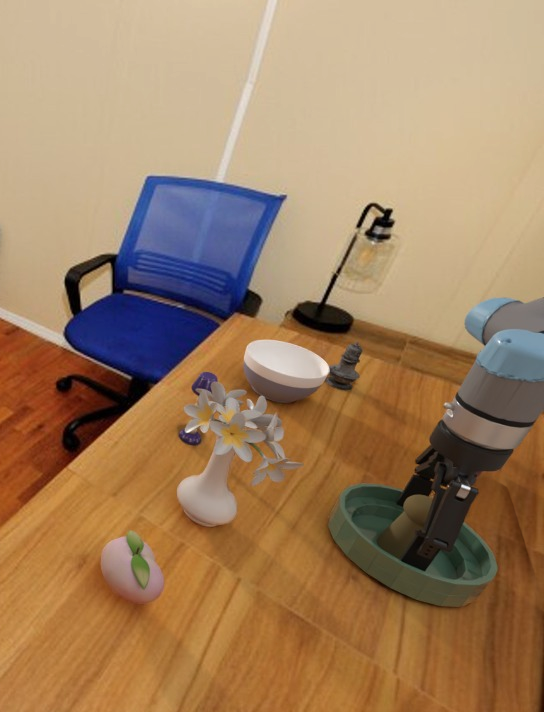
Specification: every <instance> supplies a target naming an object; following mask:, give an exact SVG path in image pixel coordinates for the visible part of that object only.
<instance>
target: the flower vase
mask: <svg viewBox="0 0 544 712" xmlns="http://www.w3.org/2000/svg"><path fill="white" fill-rule="evenodd" d="M211 390H212V393H211V392H209V391H207V390H205V389H196V391H197V392H198V393H200V395H199V396H198V397H199V405H200V407H201V408H200V407H198V406H196V405H195V404H192V403H188V404H185V405H184V407H183V411H184V413H185V414H186V415H187V416H189V417H190V418H191V417H193V418H196V419H193V420H191V419H190V420H191V421H190V420H189V421H188V422H187V424H186V426H185V428H184V429H185V432H186V433H189V432H192V431H193V430H195V429H197V430H198V428H199V429H200V431H201V432H202V433H203V434H206V433H207V432H208V431H209V430H211V432H213V433H214V434H215V443H214V447H213V451H212V453H211V455H210V458H209V460H208V462H207V465H206V467H205V468H204V470H203V471H202V472H201V473H200V474H193V475H189V476H187V477H185V478H183V480H182V481H180V483H179V484H178V485H177V488H176V497H177V500H178V503H179V505H180V506H181V508H182V510H183V512H184V514H185V515H186V517H188V519H190V520H191V521H193V523H196V524H197V525H199V526H203V527H206V528H214V527H217V526H222V525H227V524H229V523H231V522H232V521H234V519H235V518H236V517H237V513H238V503H237V500H236V497H235V495H234V493H233V491H232V490H231V489H230V488H229V486H228V478H229V473H230V469H231V467H232V464H233V460H234V458H235V455H237V457H238V458H240V459H241V460H242V461H243V462H245V463H250V462H252V461H253V452H252V449H251V448H250V446H251V447H253V448H254V449H255V450H256V451H257V453H258V454H259V456H260V457H261V458H262V461H261V462H260V463H259V466H258V467H257V468H256V469H255V470H254V471H253V472H252V475H255V476H254V477H253V479H252V480H251V482H250V486H252V487H254V486H256V485H257V486H258V484H261V483H262V482H263V481H264V480H266V477H267V476H268V477H269V479H270V480H271V481H273V482H275V483H281V482H283V481H284V480H285V478H286V473H285V472H284V471H283V469H284V470H296V469H300V468H302V467H303V466H304V465H305V464H304V463H302V462H296V461H290V460H291V458H289V457H286V455H285V454H286V453H285V451H284V449H283V446H281V444H279V443H278V442H280V441H282V440H283V438H284V435H285V430H284V427H282V425H283V421H282V419H280V418H279V417H278V412H277V411H276V412H274V414H271V413H266V411H267V407H268V403H267V399H266V398H265V397H264V396H260V395H259V397H258V398H257V401H256V403H255V404H254V402H253V401H252V400H251V399H250V398H247V399H246V405H247V409H244V410H241V407H240V406H241V405H245V402H244V401H242V400H241V399H239V398H241V397H243V396H245V395H246V394H247V393H248V392H247V390H246V389H234V390H230V391H228V392H226V388H225V386H224V385H223V384H222V383H221V382H219V381H218V382H212V383H211ZM212 394H213V395H212ZM240 410H241V411H240ZM216 412H217V413H218V414H219V415H218V419H217V418H215V417H214V416H215V414H216ZM265 413H266V414H265ZM245 428H248V429H245ZM260 442H264V444H265V445H266V446H267V447H268V448H269V449H270V451H271V452H272V454H273V455H274V456H275V458H274V457H273V458H272V457H267V455H265V453H264V452H263V451H262V450H261V448H259V447H258V446H257V445H256V443H258V444H259V443H260Z"/></svg>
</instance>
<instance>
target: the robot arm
mask: <svg viewBox="0 0 544 712" xmlns="http://www.w3.org/2000/svg"><path fill="white" fill-rule="evenodd" d="M464 329H465V330H466V331H467V333H468V334H469V335H470V336H472V337H473V338H474V339H475V340H476V341H478V342H479V343H480V344H482V345H483V346H484V347H483V348H482V349H481V350H480V351H479V352H478V353H477V355H476V357H475V361H474V362H473V364H472V366H471V368H470V369H469V371H468V373H467V374H466V376H465V378H464V379H463V381H462V383H461V385H460V387H459V389H458V390H457V391H456V393H455V395H454V397H453V399H452V400H451V401H452V402H448V401H446V402H444V403H443V405H442V407H443V408H444V409H445V412H444V413H443V415H442V419H439V421H438V422H437V424H436V425H435V427H434V429H433V430H432V432H431V433H430V435H429V437H428V440H429V444H430V445H429V446H427V448H425V449H424V450H423V451H422V452H421V453H420V454H419V455H418V456H417V457H416V458H415V459H414V463H415V465H416V466H415V467H414V469H413V473H415V474H412V476H411V477H410V479H409V480H408V482H407V484H406V485H405V487H404V488H403V489H402V490H403V492H402V493H401V495H400V497H399V498H398V500H397V501H396V505H399V506H402V507H403V506H404V502H405V500H406V499H407V498H408V497H410V496H412V495H425V496H428V497H430V495H431V494H432V492H433V493H434V494H433V496H432V498H433V500H432V503H431V506H430V510H429V513H428V516H427V519H426V522H425V525H424V529H423V531H422V530H420V529H419V531H417V530H415V534H416V535H415V537H414V538H413V540H412V541H411V543H410V544H409V546H408V547H407V549H406V550H405V552H404V553H403V555H402V556H401V558H400V561H402V562H404V563H406V564H408V565H411V566H413V567H415V568H418V569H420V570H422V571H424V572H425V571H426V569H427V568H428V567H429V565H430V564H431V562H432V561H433V560H434V558H435V557H436V555H437V554H438V553H439V551H440V550H441V549H442V550H445V551H447V552H451V550H452V549H453V546H454V544H455V541H456V539H457V536H458V534H459V532H460V529H461V527H462V525H463V522H465V520H466V518H467V515H468V513H469V511H470V508H471V506H472V504H473V503H474V501H475V499H476V497H477V496H478V495H479V492H480V490H479V488H477V487H475V486H474V485H475V484H476V481H477V479H478V478H477V474H475V472H482V471H483V472H487V473H488V472H489V473H491V472H498V471H500V470H501V469H502V468H503V467H504V466H505V464H506V463H507V461H508V460H509V458H511V456H512V454H513V453H514V452H515V449H516V448H517V447H519V446H520V445H521V444H522V442H523V441H524V439H525V438H526V437H527V435H528V434H529V432H530V431H531V429H532V428H533V427H534V425H535V423H536V422H537V420H538V419H539V417H540V416H541V415H542V413H543V412H544V296H543V297H539V298H536V299H534V300H531V301H528V302H523V301H521V300H518V299H515V298H511V297H491V298H488V299H485V300H483V301H480V302H479V303H477V304H475V305H474V306H472V307H471V309H470V310H469V311H468V313H467V314H466V315H465V318H464ZM483 472H482V473H483ZM441 486H442V487H441ZM443 487H444V488H443Z"/></svg>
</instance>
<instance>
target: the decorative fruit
mask: <svg viewBox="0 0 544 712" xmlns="http://www.w3.org/2000/svg"><path fill="white" fill-rule="evenodd" d="M100 569H101V573H102V577H103V578H104V581H105V583H106V584H107V586H108V587H109V588H110V590H111V591H112V592H113V593H114V594H116V595H117V596H118V597H120V598H121V599H123V600H125V601H126V602H129V603H132V604H135V605H146V604H147V605H148V604H150V603H153V602H154V601H156V600H157V599H159V598H160V597H161V595H162V593H163V592H164V590H165V589H164V588H165V577H164V574H163V572H162V569H161V568H160V566H159V565H158V563H157V562H156V558H155V554H154V551H153V550H152V548H151V547H150V546H149V545H148V544H147V543H146V542H145V541H143V539H142V537H141V535H139V534H138V533H137V532H136V531H134V530H132V529H130V530H129V531H127V533H126V535H124V536H120V537H117V538H114V539H112V540H110V541H108V542H107V543H106V544H105V546H104V547H103V549H102V551H101V555H100Z"/></svg>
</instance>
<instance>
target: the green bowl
mask: <svg viewBox="0 0 544 712" xmlns="http://www.w3.org/2000/svg"><path fill="white" fill-rule="evenodd" d="M403 490H404V489H401V488H398V487H394V486H390V485H385V484H380V483H365V482H364V483H362V482H361V483H357V484H352V485H349V486H347V487H346V488H344V490H343V491H342V492H341V493H340V494H339V496H338V497H337V500H336V502H335V503H334V504H333V507H332V509H331V510H330V512H329V514H328V523H327V524H328V525H327V526H328V527H327V528H328V530H329V531H330V534H331V536H332V539H333V540H334V542H335V543H336V545H337V546H338V547H339V548H340V549H341V551H342V552H343V554H344V555H345V556H346V557H347V558H348V559H349V560H351V561H352V562H353V563H354V564H355V565H356V566H357V567H358V568H360V569H361V570H362V571H363V572H364V573H366V574H367V575H369V576H370V577H372V578H374V579H375V580H377V581H378V582H380V583H381V584H383V585H385V586H386V587H387V588H389V589H392V590H393V591H396V592H398V593H400V594H401V595H402V594H403V595H405V596H407V597H410V599H414V600H416V601H420V602H423V603H428V604H431V605H435V606H439V607H453V608H454V607H456V608H460V607H464V606H466V605H468V604H469V605H470V604H472V603H474V602H476V601H477V599H478V598H479V597H480V596H481V594H482V593H483V592H484V591H485V590H486V588H487V587H489V585H490V584H491V583H492V581H493V580H494V578H495V576H496V574H497V573H498V570H499V568H498V564H497V560H496V556H495V553H494V552H493V551H492V550H491V548H490V546H489V545H488V544H487V543H486V541H485V540H484V538H482V537H481V536H480V534H478V533H477V532H476V531H475V530H474V529H473V528H472V527H471V526H470V525H468V524H467V523H466V522H465V521H464V522H463V525H462V527H461V529H460V532H459V534H458V536H457V539H456V541H455V544H454V546H453V549H452V550H451V552H447V551H445V550H442V549H441V550H440V551H439V553H438V554H437V555H436V557H435V558H434V560H433V561H432V562H431V564H430V565H429V567H428V568H427V569H426V571H425V572H424V571H422V570H420V569H418V568H415V567H413V566H411V565H408V564H406V563H404V562H402V561H400V560H399V559H397V558H395V557H394V556H392V555H390V554H389V553H387V552H385V551H384V550H382V549H381V548H380V547H379V546H378V544H377V538H378V537H379V536H380V535H381V534H382V533H383V532H384V531H385V530H386V529H387V528H388V527H389V526H390V525H391V524H392V523H393V522H394V521H395V520H396V519H397V518H398V517H399V516H400V515H401V514H402V513H403V512H404V508H403V507H402V506H399V505H396V501H397V500H398V498H399V497H400V495H401V493H402V492H403Z"/></svg>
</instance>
